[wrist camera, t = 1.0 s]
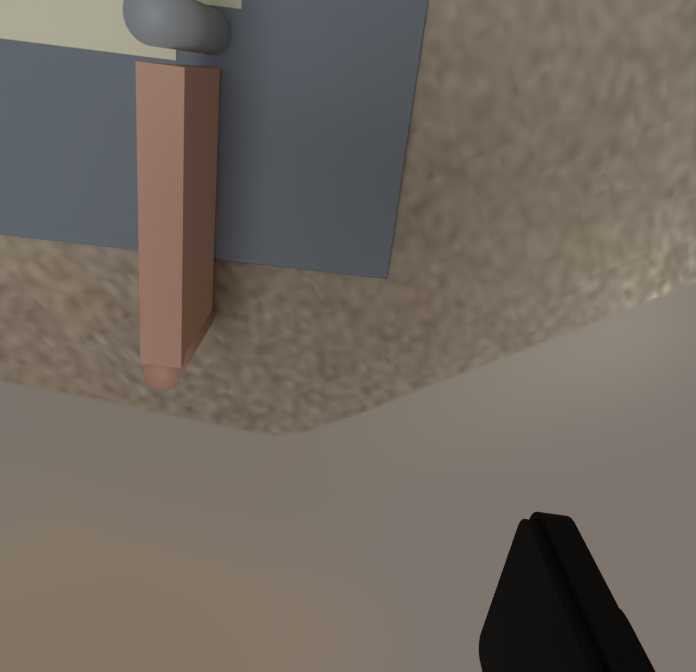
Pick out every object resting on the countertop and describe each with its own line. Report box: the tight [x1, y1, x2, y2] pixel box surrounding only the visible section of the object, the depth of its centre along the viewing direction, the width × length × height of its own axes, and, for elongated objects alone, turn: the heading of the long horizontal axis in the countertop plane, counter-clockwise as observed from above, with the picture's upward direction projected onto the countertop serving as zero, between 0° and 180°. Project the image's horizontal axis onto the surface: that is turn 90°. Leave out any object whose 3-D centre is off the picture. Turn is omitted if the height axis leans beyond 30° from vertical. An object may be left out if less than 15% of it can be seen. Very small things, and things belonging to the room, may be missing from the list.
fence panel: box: [135, 61, 220, 390], centre depth 26 cm, size 12×2×7 cm, turn 173°
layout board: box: [0, 0, 428, 279], centre depth 23 cm, size 22×20×8 cm
